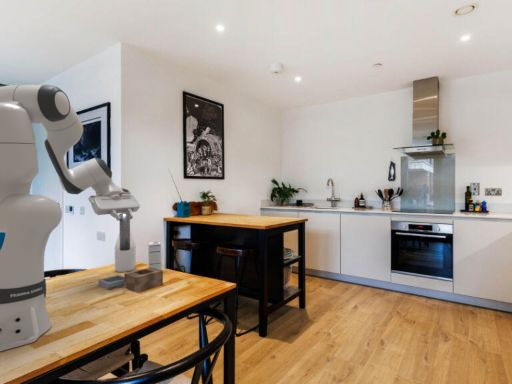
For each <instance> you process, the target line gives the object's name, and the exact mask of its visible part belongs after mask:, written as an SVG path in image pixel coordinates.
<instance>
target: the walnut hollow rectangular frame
mask: <svg viewBox="0 0 512 384" xmlns="http://www.w3.org/2000/svg"><path fill="white" fill-rule="evenodd" d="M123 273H124V274H123V276H124V286H123V287H124V289H126V290H128V291H131V292H134V293H140V292H143V291H146V290H149V289H153V288H156V287H160V286H163V283H164V270H163V269H161V270H159V269H155V268H151V267H149V266H148V267H146V268H141V269H137V270H136V269H135V270H132V271H128V272H123Z"/></svg>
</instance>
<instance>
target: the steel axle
mask: <svg viewBox="0 0 512 384" xmlns="http://www.w3.org/2000/svg"><path fill="white" fill-rule="evenodd" d="M118 215H121V217H122V219H121V220H120V221H119V233H120V251H126V250H130V231H131V219H130V214H121V213H118Z"/></svg>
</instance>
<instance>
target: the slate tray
mask: <svg viewBox="0 0 512 384" xmlns="http://www.w3.org/2000/svg"><path fill="white" fill-rule="evenodd" d="M97 283H98V284H97V286H98V287H101V288H103V289H105V290H108V291H111V290H115V289H118V288H123V287H124V275H120V274H117V275H113V276H108V277H103V278H99V279H97Z"/></svg>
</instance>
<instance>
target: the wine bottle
mask: <svg viewBox="0 0 512 384" xmlns="http://www.w3.org/2000/svg"><path fill="white" fill-rule="evenodd" d="M120 214H126V213H120ZM136 251H137V250H136V243H135V240H134V237H133V234H132V232H131V230H130V250H126V251H120V232H119V233H118V235H117V239H116V241H115V245H114V271H116V272H118V273H128V272H132V271H135V270H136V265H137V264H136V262H137V261H136V260H137V259H136V256H137V255H136V253H137V252H136Z"/></svg>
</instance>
